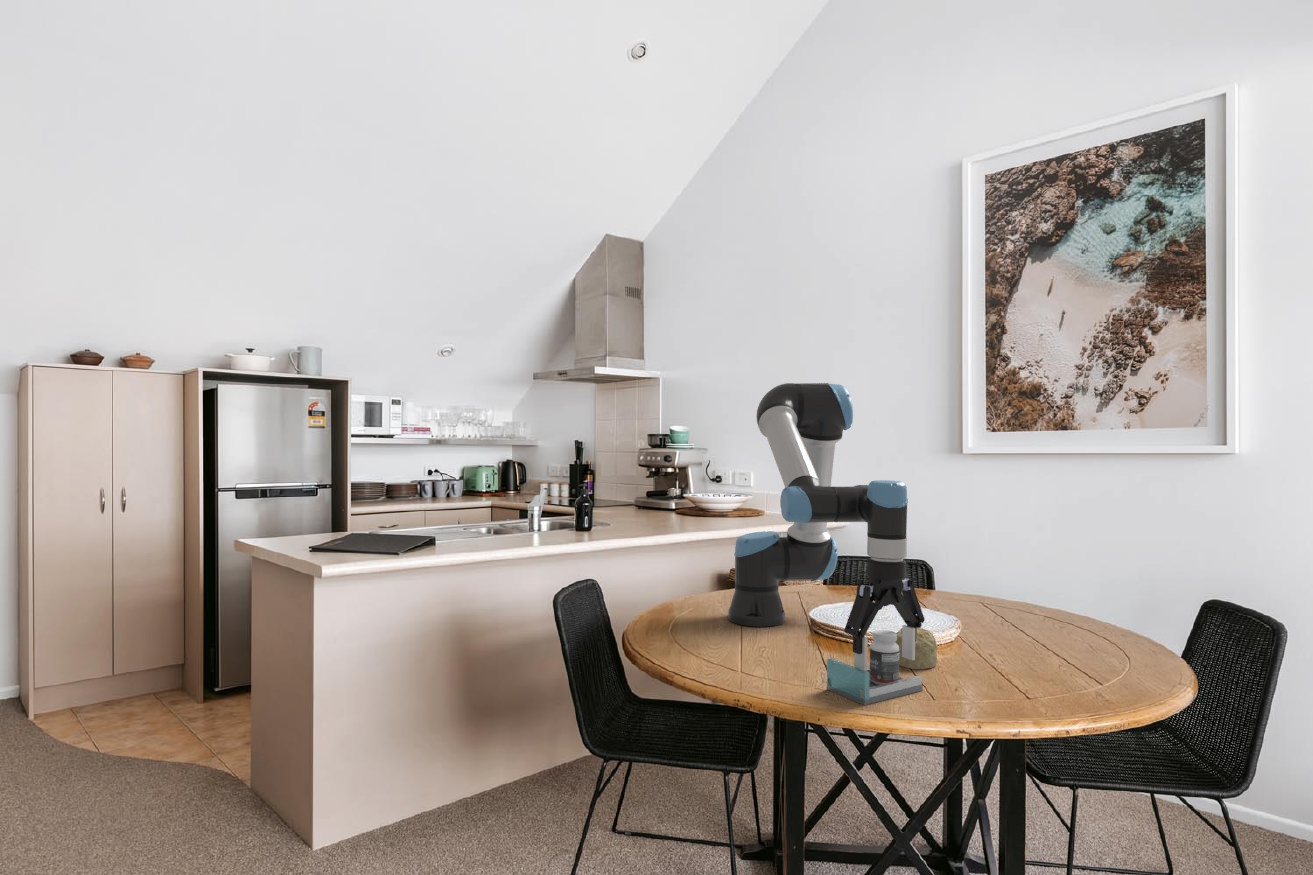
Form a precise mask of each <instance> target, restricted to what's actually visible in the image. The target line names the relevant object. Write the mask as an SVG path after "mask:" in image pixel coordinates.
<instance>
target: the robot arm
mask: <svg viewBox="0 0 1313 875" xmlns="http://www.w3.org/2000/svg"><path fill="white" fill-rule="evenodd" d="M853 421H854V409H853V402H852V399H851V395H850V393H849V391H848V389H847V388H846V387H845V386H844V385H841V384H838V383H837V384H836V383H830V382H821V383H820V382H819V383H818V382H817V383H816V382H812V383H809V382H808V383H805V382H804V383H793V382H789V383H787V382H785V383H781V384H779V385H776V386H774V387H773V388H771V389H770V390H769V391H767V393H765V394H764V395H763V397H762V399H761V400H760V401H759V403H758V406H757V410H756V423H757V427H758V429H759V431H760V433H761V435H763V436H764V437H765V438H766V439H767V441H768V444H769V448H770V451H771V452H772V455H773V458H774V461H775V464H776V466H777V469H778V471H779V474H780V476H781V480H782V483H783V485H784V488H783V489H782V491H781V493H780V494H781V495H780V500H779V501H780V502H779V504H780V509H781V516H782V518H783V519H784V520H785V521H786V522H789V523H793V524H792V525H790V526H789V527H788V528H787V531H786V532H787V533H786V536H781V537H780V535H779V533H778V532H776V531H765V530H764V531H756V532H751V533H746V534H743V535H739V537H738V538H737V539H736V541H735V549H734V592H733V596H732V598H731V602H730V607H729V608H728V612H727V616H728V618H727V619H728V621H729V622H731V623H733V624H736V625H741V626H745V627H746V626H747V627H754V628H755V627H757V628H758V627H762V628H763V627H764V628H765V627H775V626H778V625H779V626H780V625H782V624H784V623H785V621H786V619H785V618H786V612H785V609H784V606H783V603H782V599H781V595H780V592H779V582H782V581H783V582H785V581H786V582H787V581H789V582H791V581H794V582H795V581H796V582H797V581H800V582H801V581H810V582H811V581H812V582H815V581H822V580H827V579H829V578H830V577H832V575H833V573H834V572H835V570H836V566H837V562H838V546H837V545H838V544H837V542H836V540H835V539H834V537H832V533H831V532H830V530H829V528H827V525H828V523H867V527H866V528H867V532H866V535H867V547H866V548H867V552H866V554H867V556H869V557H868V558H867V559H866V576H867V577H868V578H869V579H868V580H869V584H868V585H863V584H860V583H859V584H857V587H856V596H855V598H854V602H853V605H852V606H851V610H850V613H849V616H848V618H847V622H846V624H845V627H844V633H845V634H847V635H851V636H852V652H853V653H854V654H853V655H854V658H853V667H856V668H859V669H862V670H864V671H867V668H868V645H869V644H868V643H869V642H868V641H869V640H868V639H869V638H868V636H867V637H866V634H867V632H868V630H869V628H870V626H871V625H872V623H873V622H874V619H875V618H876V616H877V614H878V612H879V611H880V610H882V609H883V608H884V607H887V606H889V605H890V606H891V605H892V606H893V607H894V608H895V609H896V611H897V613H898V614H899V615H900V617H901V618H902V620H903V622H904V623H905V624H902V626H901V628H902V657H904V658H907V659H910V660H915V642H916V633H917V628H922V624H924V622H925V620H926V619H925V615H924V614H923V611H922V608H921V605H920V602H919V599H918V595H917V594H916V590H915V580H914V579H909V578H907V561H906V558H907V556H908V555H907V554H908V553H907V552H908V551H907V547H908V546H907V528H908V527H907V526H908V524H907V522H908V520H907V519H908V503H909V498H908V490H907V489H908V488H907V484H906V483H905V482H903V481H901V480H892V479H891V480H886V479H885V480H884V479H879V480H871V481H869V483H868V484H857V485H853V486H832V479H833V467H834V459H835V451H836V450H835V449H836V444H837V443H838V442H839V441H841V440H842V438H843V432H844V431H847V430H850V428H852V424H853Z"/></svg>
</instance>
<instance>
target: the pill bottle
mask: <svg viewBox="0 0 1313 875" xmlns="http://www.w3.org/2000/svg"><path fill="white" fill-rule="evenodd" d="M896 633H897V632H895V631H893V630H889V629H875V630H873V631H872V635H871V636H872V639H873V641H872V642H870V643H869V644H870V645H869V668H870V670H869V672H870V680H871V682H873V683H875V684H878V685H881V684H885V683H889V682H893V681H898V680H899V677H900V665H899V646H898V645H897V644H896V642H895V641H896V640H897V634H896Z"/></svg>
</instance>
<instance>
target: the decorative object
mask: <svg viewBox="0 0 1313 875" xmlns="http://www.w3.org/2000/svg"><path fill="white" fill-rule="evenodd" d="M895 633H896V634H897V640H896V641H895V642H896V644H897V645H898V646H899V666H901V667H904V668H907V669H912V670H925V669H932V668H934V667H935V666H937V662H938V661H937V660H938V657H937V656H938V653H937V650H938V646H937V645H938V644H937V641H936V638H935V636H934V634H933V633H932V632H931V630H929V629H924V628H923V627H921V628H917V633H916V642H915V660H910V659H907V658H904V657H902V627H901V628H900V629H899V631H897V632H895Z"/></svg>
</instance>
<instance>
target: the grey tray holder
mask: <svg viewBox="0 0 1313 875" xmlns="http://www.w3.org/2000/svg"><path fill="white" fill-rule="evenodd" d="M869 670H870V667H867V671H864V670H862V669H859V668H856V667H854V665H851V664H848V663H845V662H842V661H839V660H836V659H835V658H827V660H826V677H827V678H826V690H828V691H830V692H832V693H835V694H836V695H839V696H842V697H844V698H846V699H848V700H851V701H852V702H856V703H859V704H860V705H863V706H868V705H872V704H876V703H879V702H880V703H881V702H883V701H887V700H891V699H895V698H900V697H903V696H906V695H910V694H914V693H918V692H922V691H923V689H924V688H923V686H924V685H923V684H922V683H923V682H922V681H923V677H922V676H920V675H915V676H910V677H906V678H903V677H901V676H899V680H898V681H893V682H889V683H885V684H881V685H878V684H875V683H873V682H871V680H870V672H869Z"/></svg>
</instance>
